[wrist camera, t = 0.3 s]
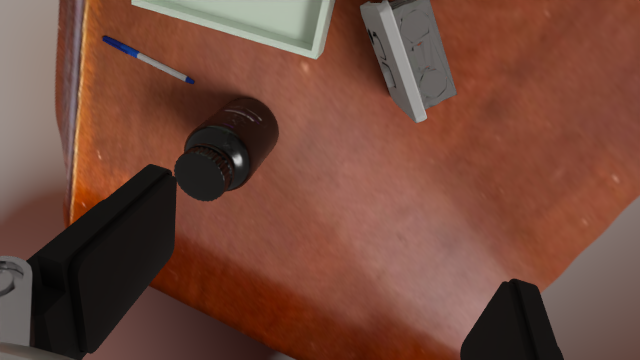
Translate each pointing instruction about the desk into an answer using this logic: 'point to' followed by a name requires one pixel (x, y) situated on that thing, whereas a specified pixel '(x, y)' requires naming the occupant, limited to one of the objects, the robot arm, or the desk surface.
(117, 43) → the ballpoint pen
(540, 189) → the desk surface
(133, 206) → the robot arm
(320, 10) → the parts tray
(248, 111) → the supplement bottle
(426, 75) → the electrical switch
